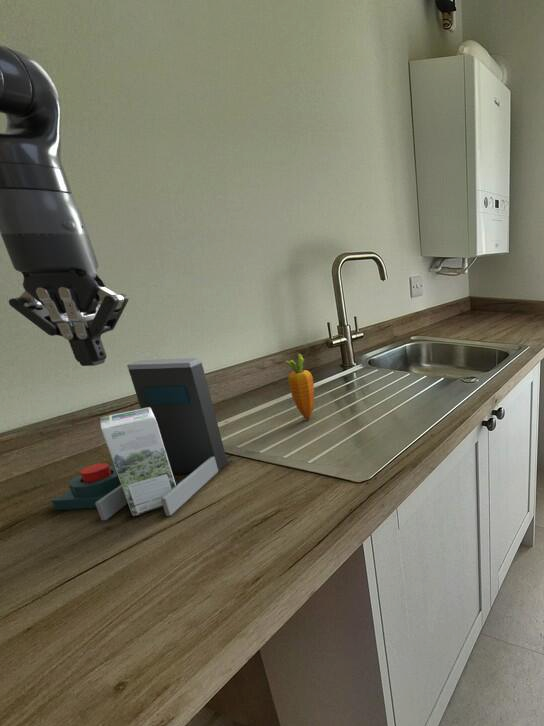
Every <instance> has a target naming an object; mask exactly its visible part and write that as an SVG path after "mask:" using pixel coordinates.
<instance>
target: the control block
mask: <svg viewBox="0 0 544 726" xmlns="http://www.w3.org/2000/svg"><path fill="white" fill-rule="evenodd" d="M109 468H110V470H111V473H112V474H111V475H110V476H108V477H106V478H104V479H101V480H98V481H94V482H87V483H84V482H83V480H82V477H81V475H80V474H79V475H77V476H75V477H74V478H72V479H71V480H70V481H69V483H68V487H69V490H67V491H65V492H63V493H62V494H61V495H59V496H57V497H55V498H54V499H52V500H51V502H52V505H53V506H54V509H55V510H56V511H63V510H65V511H66V510H78V509H79V510H80V509H95V508H96V509H97V507H96V504H95V503H96V502H97V501H98V500H100V499H101V498H103V497H104V496H106V495H107V494H108V493H110V492H111V491H113V490H114V489H116V488H117V487H119V486H120V485H121V482H120V480H119V477H118V474H117V472H116V469H115V466H114V465H112V466H111V465H109Z"/></svg>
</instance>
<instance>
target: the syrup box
mask: <svg viewBox="0 0 544 726" xmlns="http://www.w3.org/2000/svg"><path fill="white" fill-rule="evenodd" d="M99 421H100V429H101V432H102V433H101V434H102V436H103V438H104V441H105V444H106V446H107V449H108V451H109V455H110V457H111V461H112V464H113V466H115V469H116V472H117V474H118V477H119V480H120V482H121V485H122V488H123V491H124V493H125V496H126V499H127V502H128V504H127V505H128V507H129V510H130V513H131V516H132V517H137V516H140V515H143V514H145V513H148V512H151V511H154V510H158V509H160V508H164V507H163V504H162V501H161V498H162V497H163V496H164V495H166V494H167V493H168V492H169V491H170V490H172V489H173V488H174V487H175V486H176V485H177V484H176V481H175V477H174V474H172V471H171V468H170V464H169V461H168V458H167V454H166V451H165V448H164V444H163V441H162V438H161V434H160V431H159V428H158V424H157V421H156V419H155V417H154V414H153V412H152V409H151V408H150V407H147V408H143V409H141V408H139V409H138V408H137V409H134V410H129V411H123V412H119V413H113V414H110V415H105V416H100V420H99Z"/></svg>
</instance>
